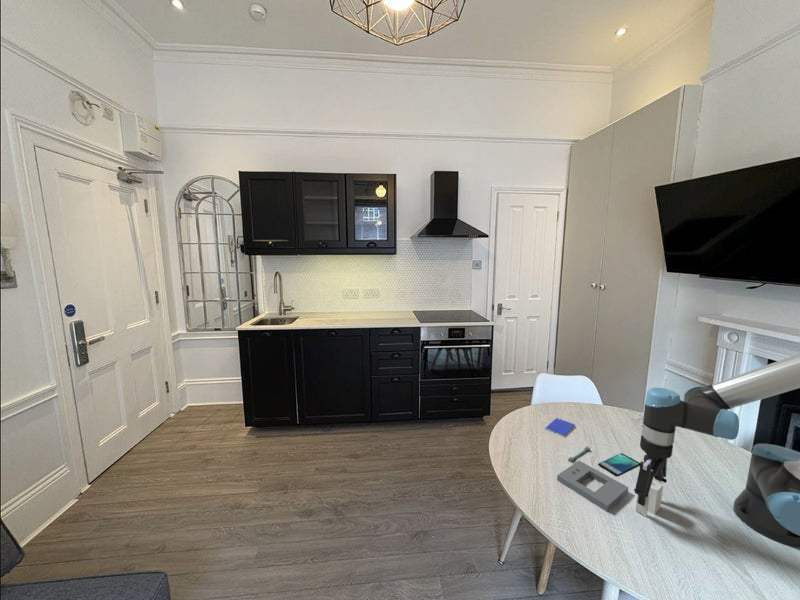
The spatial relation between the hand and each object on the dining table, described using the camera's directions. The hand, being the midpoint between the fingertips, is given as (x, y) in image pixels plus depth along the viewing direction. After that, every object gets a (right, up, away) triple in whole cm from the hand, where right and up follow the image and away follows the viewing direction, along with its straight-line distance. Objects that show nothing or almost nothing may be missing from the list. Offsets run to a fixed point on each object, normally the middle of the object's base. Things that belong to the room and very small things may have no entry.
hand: (648, 505), depth 98 cm
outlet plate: (-13, +1, +8) cm, 15 cm away
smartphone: (+4, +2, +19) cm, 20 cm away
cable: (-8, +4, +24) cm, 26 cm away
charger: (0, 0, 0) cm, 0 cm away
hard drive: (-5, +6, +43) cm, 44 cm away
